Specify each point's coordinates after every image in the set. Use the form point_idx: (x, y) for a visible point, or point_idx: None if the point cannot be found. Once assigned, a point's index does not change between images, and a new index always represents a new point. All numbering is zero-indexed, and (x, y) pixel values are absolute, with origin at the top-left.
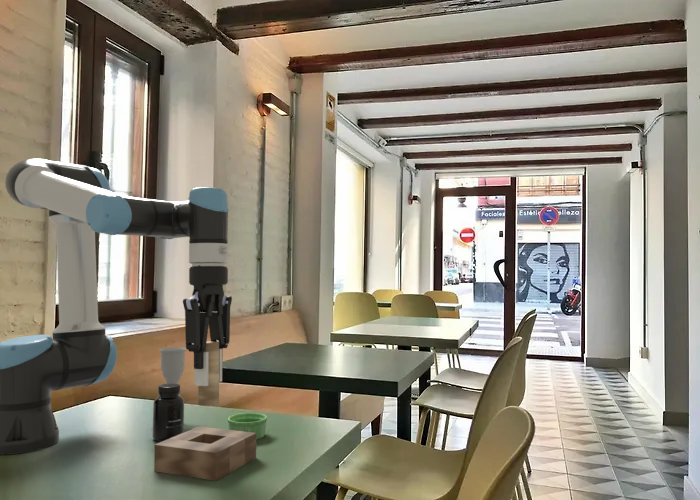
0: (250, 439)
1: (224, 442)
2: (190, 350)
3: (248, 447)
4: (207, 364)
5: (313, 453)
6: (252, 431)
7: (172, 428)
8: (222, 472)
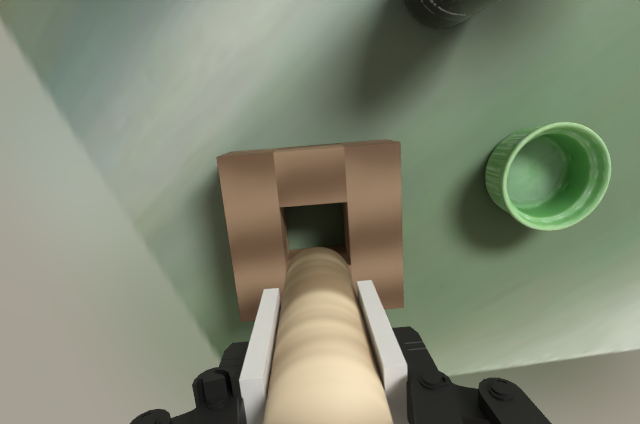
0: None
1: None
2: (200, 388)
3: None
4: None
5: (457, 360)
6: (506, 211)
7: (430, 13)
8: None
